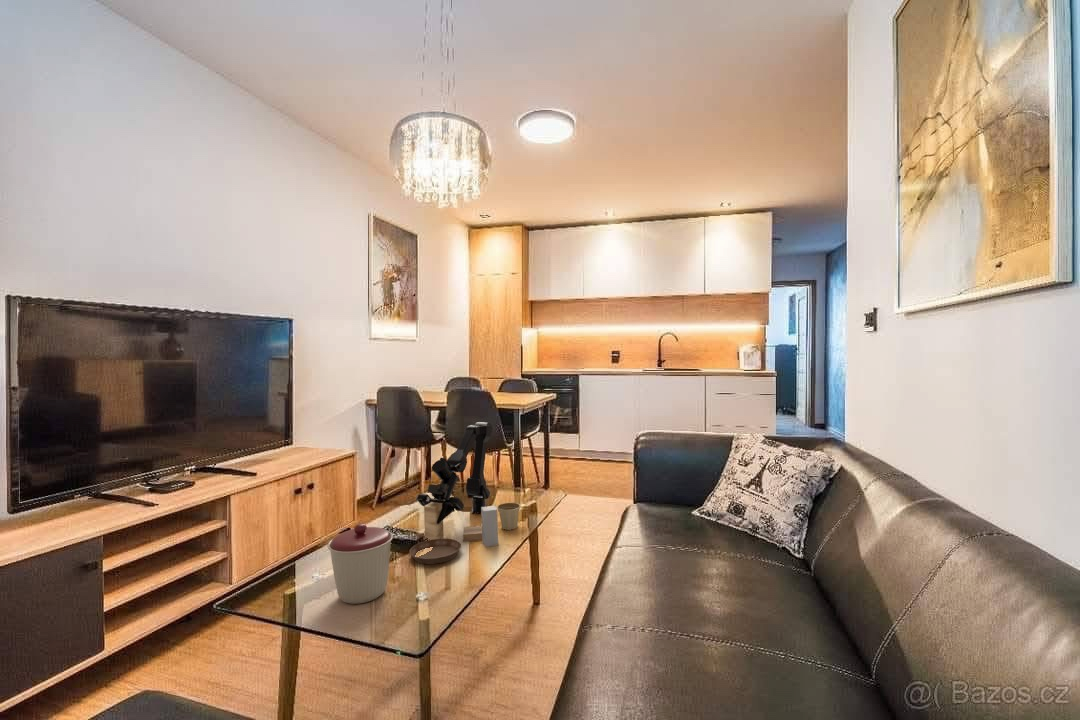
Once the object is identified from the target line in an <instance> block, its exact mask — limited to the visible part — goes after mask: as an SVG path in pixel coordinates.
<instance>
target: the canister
mask: <svg viewBox="0 0 1080 720" xmlns="http://www.w3.org/2000/svg"><path fill="white" fill-rule="evenodd" d="M393 539H394V534H393V533H392V532H391V530H390V531H389V530H387V529H385V528H383V527H378V526H377V527H376V526H367V525H366V524H365V523H357V524H356V525H355V526H354V527H353V529H349V530H346V531H343V532H341V533H339V534H337V535H336V536H334V538H332V539H330V541H328V543H327V549H328V550H329V551H330V559H331V564H332V571H333V577H334V583H335V587H336V588H335V589H336V592H337V595H338V597H339V598H340V600H341V601H343V602H344V603H346V604H347V603H348V604H351V605H352V604H353V605H354V604H357V605H359V604H364V603H368V602H371V601H373V600H375V599H377V598H379V597H380V596H381V595H382V594H384V592H385V590H386V588H387V585H388V579H389V571H390V558H391V557H390V554H391V543H392V542H391V541H392V540H393Z"/></svg>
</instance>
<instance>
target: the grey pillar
mask: <svg viewBox="0 0 1080 720" xmlns="http://www.w3.org/2000/svg"><path fill="white" fill-rule="evenodd" d="M480 515H481V526H482V540H481V543H482V544H483V546H484V548H487V547H493V546H499V529H498V528H499V525H498V509H497V506H495V505H489V506H486V507H481V513H480Z"/></svg>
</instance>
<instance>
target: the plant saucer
mask: <svg viewBox="0 0 1080 720" xmlns="http://www.w3.org/2000/svg"><path fill="white" fill-rule="evenodd" d="M430 547H433V548H432V550H431V551H429V552H427V553H426V554H424V555H421V556H419V557H415V555H416V553H417V552H418V551H420V550H422V549H425V548H430ZM461 548H462V543H461V542H460V541H459V540H456V539H452V538H441V539H433V540H428V541H427V540H423V541H421V542H418V543H416V544H415V545H413V546H412V547H411V548H410V549H409V554H410V556H411V557H412V558H413V560H414V561H416V562H418V563H420V564H424V563H425V564H426V565H436V564H441V563H446V562H448V561H451V560H452V559H454V558H455V557H456V556H457V555H458V553H460V551H461Z"/></svg>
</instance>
